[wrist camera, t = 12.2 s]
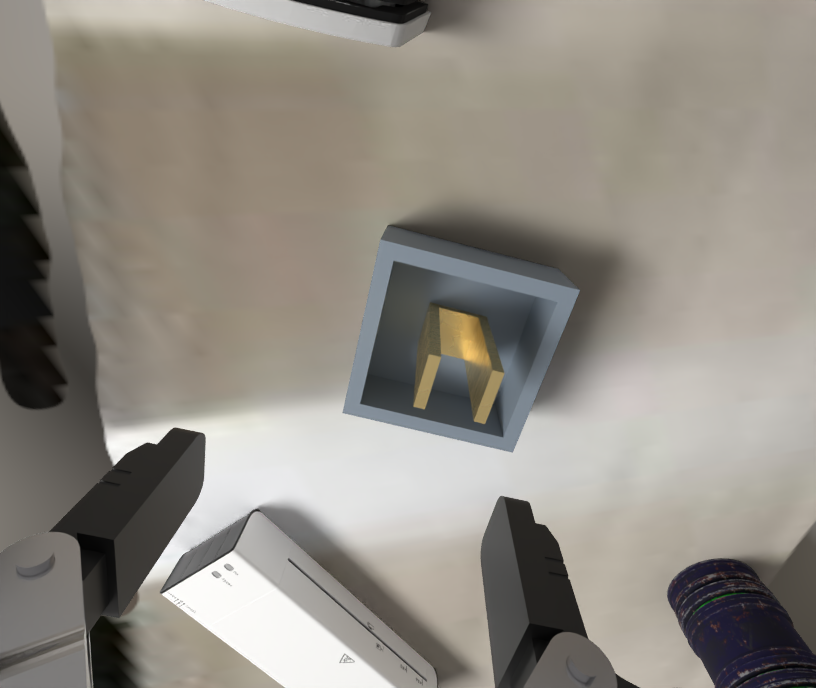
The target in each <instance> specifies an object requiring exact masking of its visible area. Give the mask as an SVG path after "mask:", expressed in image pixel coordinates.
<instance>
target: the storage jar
mask: <svg viewBox="0 0 816 688" xmlns="http://www.w3.org/2000/svg"><path fill="white" fill-rule="evenodd" d="M667 597H668V601H669V603H670V605H671V607H672V609H673V610H674V612H675V614H676V617H677V619H678V622H679V625H680V627H681V629H682V631H683V633H684V635H685V636H686V638H687V639H688V643H689V645H690V647H691V648H692V649H693V651H694V652H695V654H696V655H697V656H698V657H699V658H700V659H701V660H702V662H703V664H704V666H705V668H706V670H707V672H708V674H709V675H710V677H711V679H712V681H713V683H714V685H715V688H816V655H814V654H813V653H812V651H811V650H810V649H809V647H808V646H807V645H806V643H805V642H804V641H803V640H802V638H801V637H800V635H799V634H798V633H797V631H796V630H795V629H794V626H793V622H792V620H791V618H790V617H789V615H788V613H787V611H786V610H785V609H784V608H783V607H782V606H781V605H780V603H779V601H778V600H777V599H776V597H775V596H774V595H773V593H772V592H771V591H770V590H769V589H768V588H766V586H765V585H764V584H763V583H762V582H761V581H760V579H759V577H758V576H757V574H756V573H755V572H754V570H753V569H752V568H751V567H749V566H748V565H746V564H744V563H742V562H740V561H736V560H731V559H711V560H706V561H702V562H699V563H696V564H694V565H691V566H689V567H688V568H686V569H684V570H683V571H681V572H680V573H679V574H678V575H677V576H676V577H675V578H674V579H673V580H672V582H671V583H670V585H669V588H668V592H667Z"/></svg>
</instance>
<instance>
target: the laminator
mask: <svg viewBox="0 0 816 688" xmlns="http://www.w3.org/2000/svg"><path fill="white" fill-rule="evenodd" d="M160 593H161V594H162V595H163V596H165V597H166V598H167V599H169V600H170V601H171V602H172V603H174V604H175V605H176V606H178V607H179V608H180V609H182V610H183V611H184V612H186V613H187V614H188V615H190V616H191V617H192V618H194V619H195V620H196V621H198V622H199V623H200V624H202V625H203V626H204V627H206V628H207V629H208V630H210V631H211V632H212V633H214V634H215V635H216V636H217V637H219V638H220V639H221V640H223V641H224V642H225V643H227V644H228V645H229V646H231V647H232V648H233V649H235V650H236V651H237V652H239V653H240V654H241V655H243V656H244V657H245V658H247V659H248V660H249V661H251V662H252V663H253V664H255V665H256V666H257V667H259V668H260V669H261V670H263V671H264V672H265V673H266V674H268V675H269V676H270V677H272V678H273V679H274V680H276V681H277V682H278V683H280V684H281V685H282V686H284V687H285V688H438V678H437V673H436V670H435V668H433V667H432V666H431V665H430V664H429V663H428V662H427V661H426V660H425V659H423V658H422V657H421V656H420V655H419V654H418V653H417V652H416V651H415V650H413V649H412V648H411V647H410V646H409V645H408V644H407V643H406V642H405V641H403V640H402V639H401V638H400V637H399V636H398V635H397V634H396V633H395V632H393V631H392V630H391V629H390V628H389V627H388V626H387V625H386V624H385V623H384V622H382V621H381V620H380V619H379V618H378V617H377V616H376V615H375V614H374V613H372V612H371V611H370V610H369V609H368V608H367V607H366V606H365V605H364V604H362V603H361V602H360V601H359V600H358V599H357V598H356V597H355V596H354V595H352V594H351V593H350V592H349V591H348V590H347V589H346V588H345V587H344V586H342V585H341V584H340V583H339V582H338V581H337V580H336V579H335V578H334V577H332V576H331V575H330V574H329V573H328V572H327V571H326V570H325V569H324V568H322V567H321V566H320V565H319V564H318V563H317V562H316V561H315V560H314V559H312V558H311V557H310V556H309V555H308V554H307V553H306V552H305V551H304V550H302V549H301V548H300V547H299V546H298V545H297V544H296V543H295V542H294V541H292V540H291V539H290V538H289V537H288V536H287V535H286V534H285V533H284V532H283V531H281V530H280V529H279V528H278V527H277V526H276V525H275V524H274V523H273V522H271V521H270V520H269V519H268V518H267V517H266V516H265V515H264V514H263V513H261V512H260V511H259V510H258V509H256V510H253V511H251V512H250V514H248V515H247V516H245V517H244V518H242V519H240V520H239V521H237V522H236V523H234V524H233V525H231V526H229V527H228V528H226V529H225V530H223V531H221V532H220V533H218V534H217V535H215V536H214V537H212V538H210V539H209V540H207V541H206V542H204V543H202V544H201V545H199V546H198V547H196V548H194V549H193V550H191V551H189V552H186V553H185V554H183V555H182V557H181V558H180V559H179V561H178V563H177V564H176V566H175V568H174V569H173V571H172V573H171V574H170V576H169V577H168V579H167V581H166V582H165V584H164V586H163V587H162V589H161V591H160Z"/></svg>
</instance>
